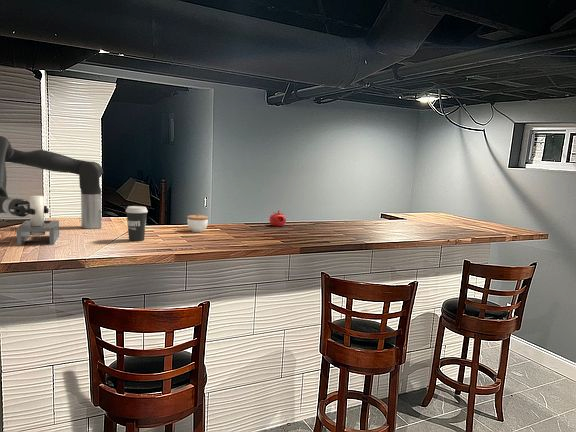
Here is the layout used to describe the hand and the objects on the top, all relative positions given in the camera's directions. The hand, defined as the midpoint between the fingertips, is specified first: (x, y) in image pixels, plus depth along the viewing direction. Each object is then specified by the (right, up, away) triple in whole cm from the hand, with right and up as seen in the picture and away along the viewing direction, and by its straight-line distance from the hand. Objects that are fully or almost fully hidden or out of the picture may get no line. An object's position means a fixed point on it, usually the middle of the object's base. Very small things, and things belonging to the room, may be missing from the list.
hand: (40, 211), depth 178 cm
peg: (-3, -10, +3) cm, 10 cm away
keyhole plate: (-4, -12, +6) cm, 14 cm away
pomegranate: (+96, -8, +79) cm, 124 cm away
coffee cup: (+34, -13, +17) cm, 40 cm away
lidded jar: (+55, -10, +47) cm, 73 cm away
